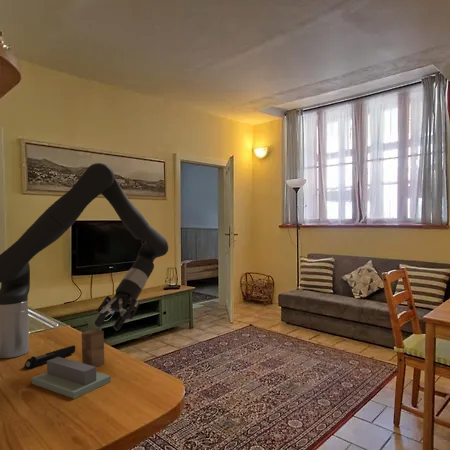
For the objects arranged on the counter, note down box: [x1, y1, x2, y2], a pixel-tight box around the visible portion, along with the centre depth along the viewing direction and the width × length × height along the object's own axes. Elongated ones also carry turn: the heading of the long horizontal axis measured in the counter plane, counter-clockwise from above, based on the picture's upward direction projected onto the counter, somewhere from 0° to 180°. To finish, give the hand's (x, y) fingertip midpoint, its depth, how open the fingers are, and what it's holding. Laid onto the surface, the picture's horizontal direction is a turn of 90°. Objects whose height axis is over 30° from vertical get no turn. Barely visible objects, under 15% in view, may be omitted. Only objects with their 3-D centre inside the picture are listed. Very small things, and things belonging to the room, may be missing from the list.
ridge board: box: [31, 357, 112, 400], centre depth 96 cm, size 18×11×5 cm, turn 58°
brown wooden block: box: [81, 328, 105, 368], centre depth 108 cm, size 4×4×10 cm
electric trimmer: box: [24, 345, 76, 370], centre depth 114 cm, size 4×16×3 cm, turn 144°
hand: (105, 327), depth 113 cm, fingers open, 8 cm apart
